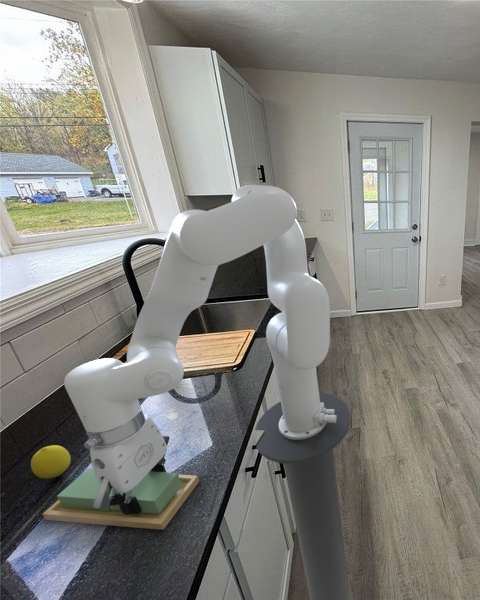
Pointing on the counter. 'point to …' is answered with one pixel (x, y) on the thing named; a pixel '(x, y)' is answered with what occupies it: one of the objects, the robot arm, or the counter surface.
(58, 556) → the counter surface
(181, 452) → the counter surface
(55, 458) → the lemon
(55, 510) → the tray
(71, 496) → the pad
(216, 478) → the counter surface
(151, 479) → the pad
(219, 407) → the counter surface
